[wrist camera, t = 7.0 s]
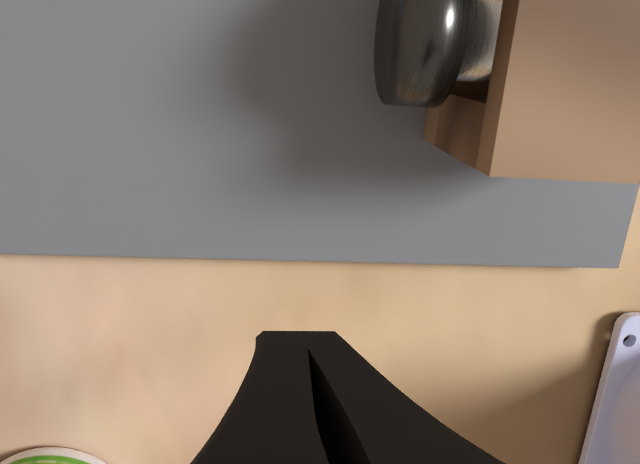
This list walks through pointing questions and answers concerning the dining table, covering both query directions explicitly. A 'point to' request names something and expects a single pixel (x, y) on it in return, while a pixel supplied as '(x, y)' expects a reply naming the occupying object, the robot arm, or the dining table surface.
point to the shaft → (432, 48)
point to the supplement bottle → (52, 457)
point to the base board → (253, 146)
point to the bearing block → (552, 96)
